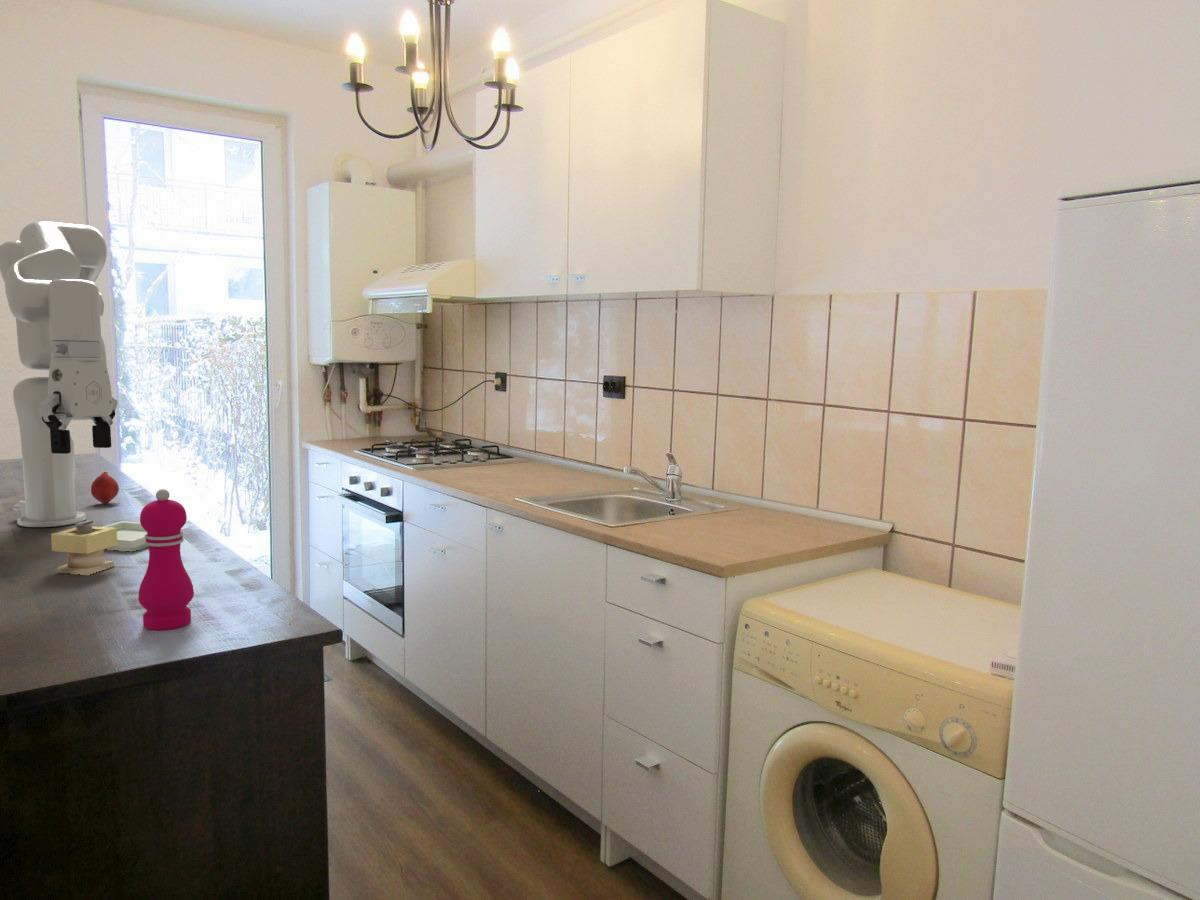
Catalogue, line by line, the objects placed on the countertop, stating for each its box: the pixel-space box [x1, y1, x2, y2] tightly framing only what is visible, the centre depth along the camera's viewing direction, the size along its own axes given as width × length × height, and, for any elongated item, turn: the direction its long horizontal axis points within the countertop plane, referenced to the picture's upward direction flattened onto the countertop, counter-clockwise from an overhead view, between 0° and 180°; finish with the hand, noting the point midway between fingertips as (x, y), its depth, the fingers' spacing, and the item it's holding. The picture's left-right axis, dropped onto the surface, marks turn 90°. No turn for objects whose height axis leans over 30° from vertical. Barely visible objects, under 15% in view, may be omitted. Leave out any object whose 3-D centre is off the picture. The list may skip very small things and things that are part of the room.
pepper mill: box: [137, 488, 195, 631], centre depth 122 cm, size 7×7×20 cm
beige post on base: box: [57, 519, 115, 576], centre depth 149 cm, size 6×6×9 cm
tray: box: [101, 520, 182, 552], centre depth 169 cm, size 14×14×2 cm
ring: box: [50, 525, 117, 554], centre depth 149 cm, size 7×9×3 cm
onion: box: [90, 470, 120, 505], centre depth 204 cm, size 6×6×8 cm
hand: (82, 450), depth 147 cm, fingers open, 9 cm apart
